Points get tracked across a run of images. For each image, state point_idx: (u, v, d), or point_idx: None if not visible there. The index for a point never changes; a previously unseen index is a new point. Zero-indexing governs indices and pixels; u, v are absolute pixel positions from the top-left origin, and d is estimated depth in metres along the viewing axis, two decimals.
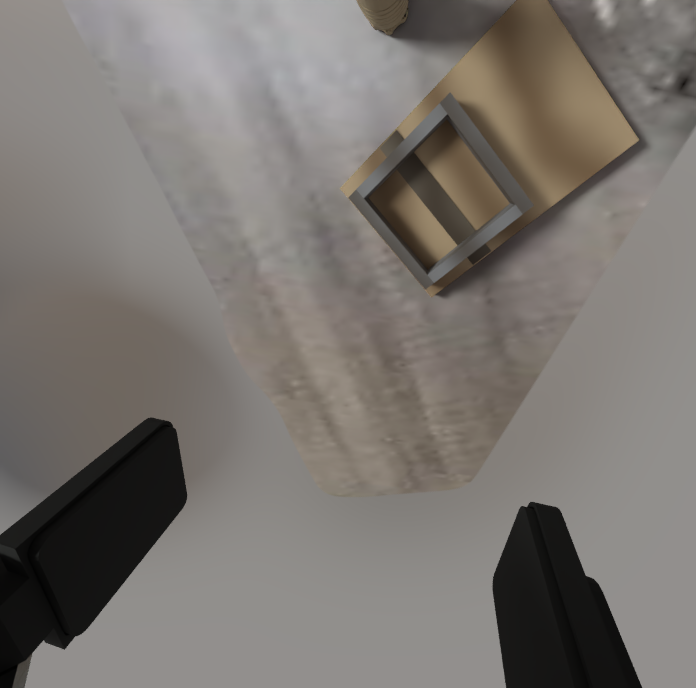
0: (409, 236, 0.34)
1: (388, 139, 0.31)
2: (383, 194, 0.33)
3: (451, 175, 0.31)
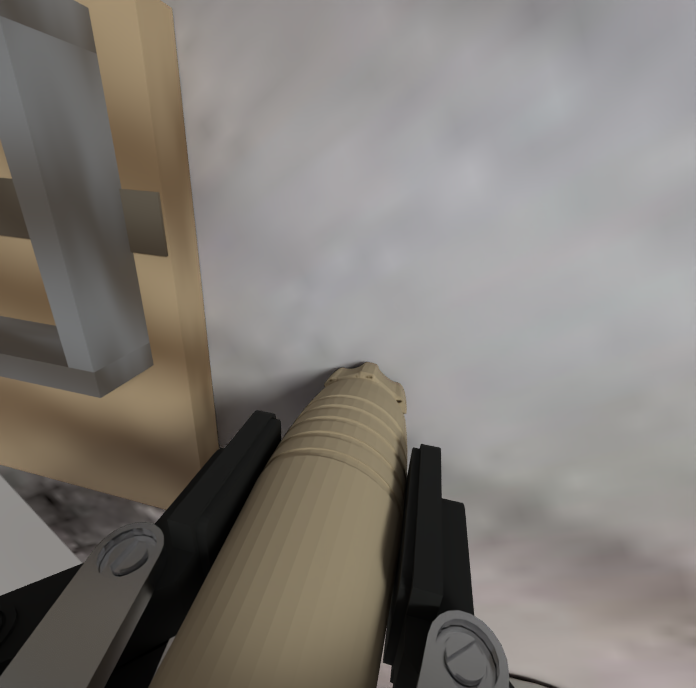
0: None
1: (160, 225, 0.12)
2: None
3: (32, 269, 0.14)
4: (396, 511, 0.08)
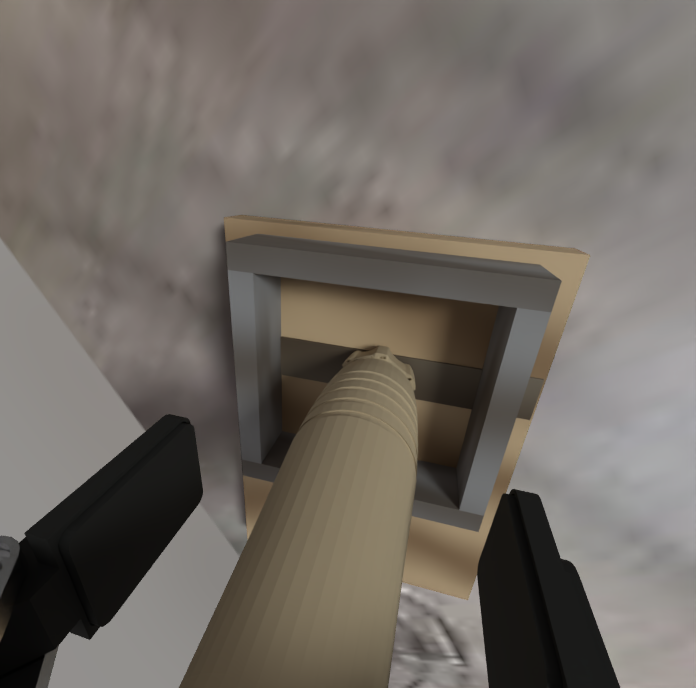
0: None
1: (534, 400, 0.15)
2: (474, 315, 0.14)
3: None
4: (412, 461, 0.10)
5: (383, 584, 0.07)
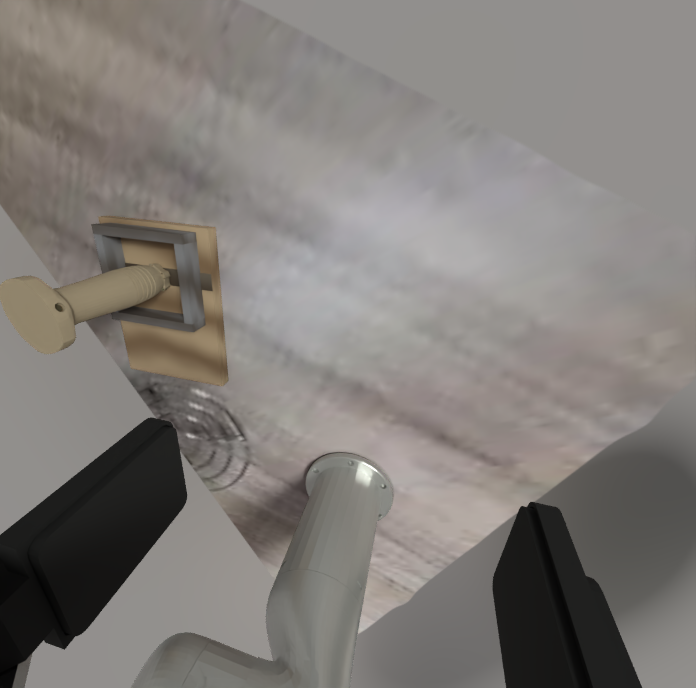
0: (147, 241, 0.40)
1: (210, 282, 0.41)
2: None
3: (167, 294, 0.43)
4: (132, 283, 0.36)
5: (98, 290, 0.32)
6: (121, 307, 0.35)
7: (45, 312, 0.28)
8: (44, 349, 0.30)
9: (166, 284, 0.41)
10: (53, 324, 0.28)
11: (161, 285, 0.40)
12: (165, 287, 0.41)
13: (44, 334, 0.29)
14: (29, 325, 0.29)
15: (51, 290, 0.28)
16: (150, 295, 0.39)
